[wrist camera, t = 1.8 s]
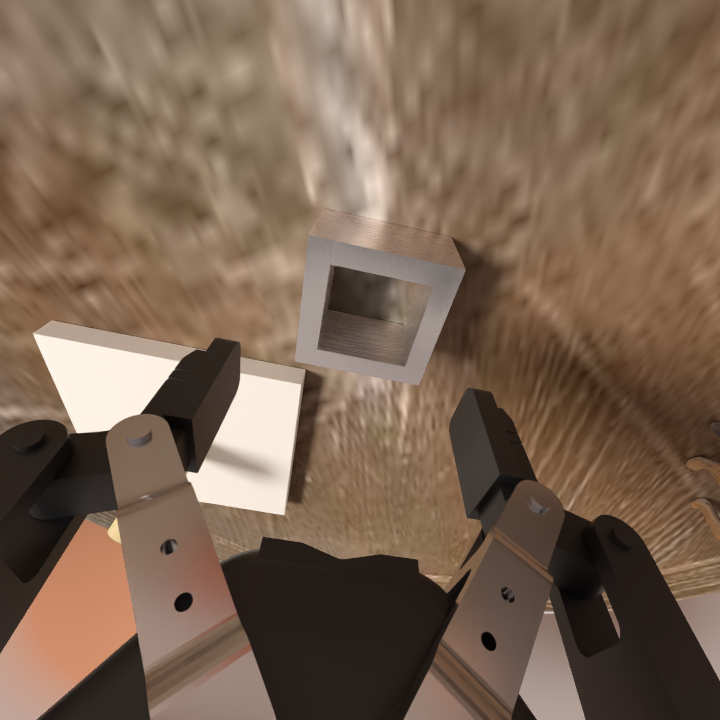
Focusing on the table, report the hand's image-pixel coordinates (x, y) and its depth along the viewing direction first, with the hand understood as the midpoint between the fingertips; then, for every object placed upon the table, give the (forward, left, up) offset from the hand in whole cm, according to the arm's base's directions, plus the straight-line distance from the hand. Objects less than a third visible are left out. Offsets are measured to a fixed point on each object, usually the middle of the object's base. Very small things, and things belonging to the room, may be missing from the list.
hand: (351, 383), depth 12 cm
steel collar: (-1, 0, -8) cm, 8 cm away
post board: (+10, +15, -8) cm, 20 cm away
